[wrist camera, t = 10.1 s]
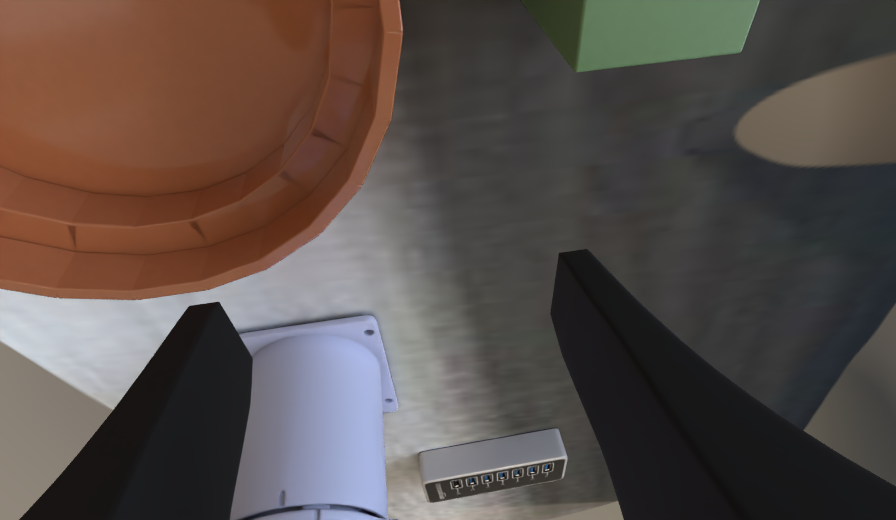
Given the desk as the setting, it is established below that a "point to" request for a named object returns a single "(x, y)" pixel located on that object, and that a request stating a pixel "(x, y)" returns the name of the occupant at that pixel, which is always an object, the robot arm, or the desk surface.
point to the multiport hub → (492, 465)
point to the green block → (642, 29)
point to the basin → (182, 136)
